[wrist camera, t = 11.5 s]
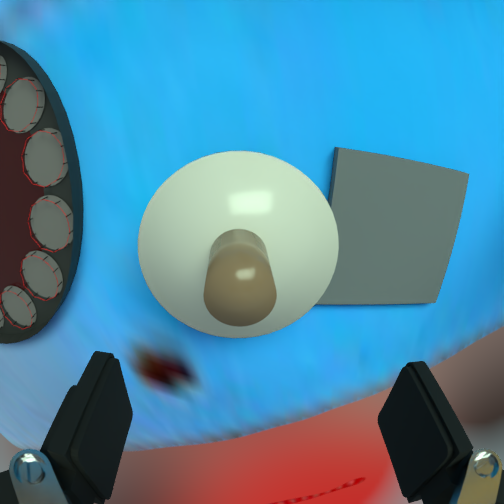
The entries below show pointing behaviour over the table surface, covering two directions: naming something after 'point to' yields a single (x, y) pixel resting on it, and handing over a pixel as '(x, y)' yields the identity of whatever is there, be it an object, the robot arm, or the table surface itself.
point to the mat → (392, 227)
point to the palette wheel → (35, 198)
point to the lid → (238, 244)
